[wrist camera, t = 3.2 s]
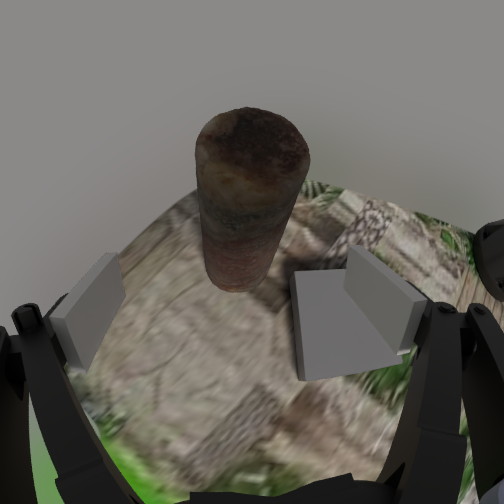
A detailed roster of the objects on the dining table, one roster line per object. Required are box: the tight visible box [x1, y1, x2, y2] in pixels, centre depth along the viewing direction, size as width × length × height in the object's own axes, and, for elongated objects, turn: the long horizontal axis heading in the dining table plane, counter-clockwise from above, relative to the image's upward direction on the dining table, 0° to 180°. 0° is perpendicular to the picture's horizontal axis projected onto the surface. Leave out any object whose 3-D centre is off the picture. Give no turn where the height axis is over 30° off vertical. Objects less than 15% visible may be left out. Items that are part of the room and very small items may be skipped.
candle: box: [195, 107, 310, 293], centre depth 25 cm, size 8×7×20 cm
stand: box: [289, 269, 403, 381], centre depth 30 cm, size 12×12×3 cm
